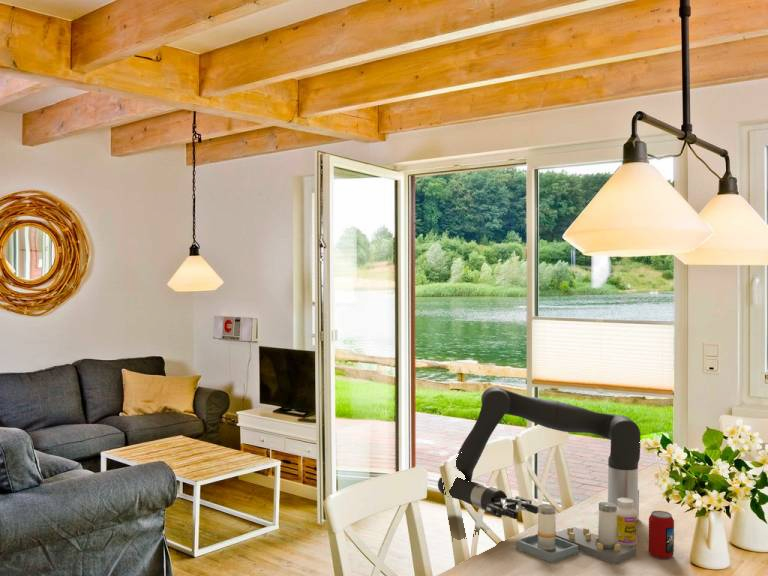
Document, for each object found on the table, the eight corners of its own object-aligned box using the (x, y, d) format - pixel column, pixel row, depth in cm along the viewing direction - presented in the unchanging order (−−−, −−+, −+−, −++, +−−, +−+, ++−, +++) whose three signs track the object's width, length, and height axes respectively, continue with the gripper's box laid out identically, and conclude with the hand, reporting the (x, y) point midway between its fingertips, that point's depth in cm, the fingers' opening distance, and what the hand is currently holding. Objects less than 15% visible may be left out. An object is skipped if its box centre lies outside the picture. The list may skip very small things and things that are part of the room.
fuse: (605, 541, 212) (606, 500, 212) (620, 547, 208) (620, 505, 208) (594, 545, 209) (595, 504, 209) (609, 550, 205) (609, 508, 205)
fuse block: (573, 533, 225) (573, 521, 225) (635, 555, 207) (636, 543, 207) (552, 540, 219) (552, 528, 219) (614, 564, 201) (614, 551, 201)
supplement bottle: (623, 548, 213) (624, 504, 212) (608, 540, 219) (608, 498, 218) (641, 545, 215) (642, 501, 215) (625, 537, 221) (626, 495, 221)
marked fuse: (545, 543, 214) (545, 503, 213) (559, 549, 210) (559, 507, 209) (533, 547, 211) (533, 506, 210) (547, 553, 207) (547, 511, 206)
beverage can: (675, 561, 203) (676, 518, 203) (650, 559, 205) (650, 516, 204) (671, 552, 210) (671, 510, 210) (646, 550, 211) (647, 509, 211)
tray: (542, 540, 219) (542, 532, 219) (578, 554, 208) (578, 545, 208) (516, 548, 212) (516, 540, 212) (551, 563, 201) (551, 554, 201)
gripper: (472, 491, 225) (510, 504, 212) (504, 483, 233) (543, 496, 220) (471, 515, 225) (510, 530, 212) (504, 506, 233) (543, 520, 220)
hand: (527, 513), depth 216 cm, fingers open, 8 cm apart
